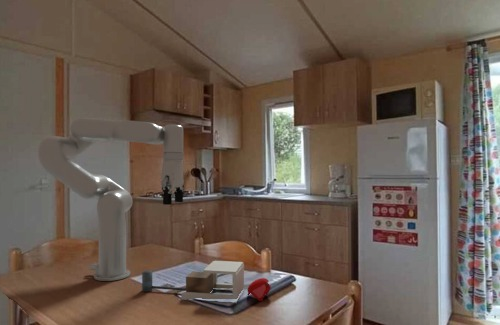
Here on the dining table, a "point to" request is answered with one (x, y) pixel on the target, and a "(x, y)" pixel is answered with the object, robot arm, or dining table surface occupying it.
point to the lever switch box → (221, 268)
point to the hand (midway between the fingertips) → (173, 203)
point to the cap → (259, 288)
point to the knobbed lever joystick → (194, 282)
